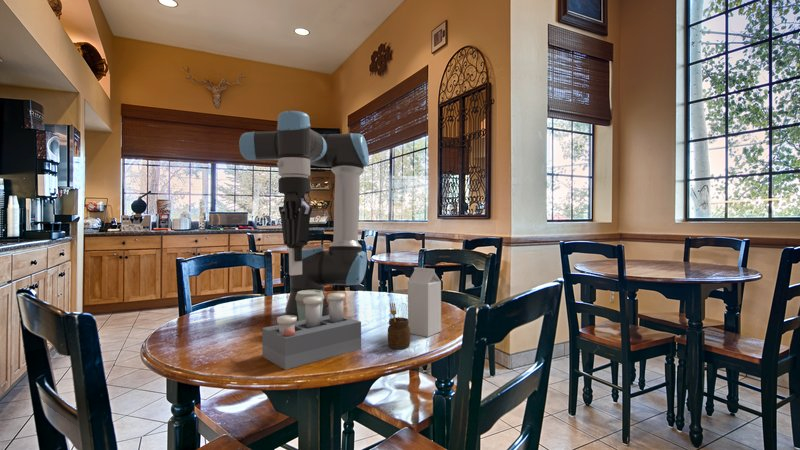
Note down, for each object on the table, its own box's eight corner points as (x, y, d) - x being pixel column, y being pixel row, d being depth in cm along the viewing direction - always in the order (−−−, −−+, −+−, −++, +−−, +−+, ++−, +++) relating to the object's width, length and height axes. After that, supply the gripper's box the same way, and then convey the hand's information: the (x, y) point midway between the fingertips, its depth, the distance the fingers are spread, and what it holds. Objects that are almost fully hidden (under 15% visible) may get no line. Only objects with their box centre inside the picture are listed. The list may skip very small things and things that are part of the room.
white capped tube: (273, 346, 96) (273, 317, 96) (291, 342, 99) (291, 314, 99) (282, 351, 93) (282, 320, 92) (300, 346, 96) (300, 317, 96)
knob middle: (300, 325, 101) (299, 298, 101) (316, 322, 104) (315, 295, 104) (309, 329, 97) (309, 300, 97) (325, 326, 100) (325, 298, 100)
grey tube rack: (262, 356, 98) (262, 323, 98) (335, 338, 112) (335, 309, 112) (285, 369, 89) (285, 333, 89) (361, 348, 103) (361, 317, 103)
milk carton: (428, 337, 113) (427, 270, 113) (407, 333, 117) (407, 268, 117) (441, 331, 118) (441, 267, 118) (421, 328, 123) (421, 266, 122)
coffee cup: (318, 336, 114) (317, 294, 114) (290, 335, 116) (289, 294, 116) (329, 328, 122) (328, 289, 122) (303, 327, 124) (302, 288, 124)
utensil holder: (414, 344, 107) (414, 299, 106) (402, 351, 101) (402, 304, 101) (395, 341, 110) (395, 297, 109) (382, 347, 104) (382, 301, 104)
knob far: (324, 321, 105) (324, 294, 105) (338, 318, 108) (338, 292, 108) (333, 324, 102) (333, 296, 102) (348, 321, 105) (348, 294, 105)
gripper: (268, 178, 99) (269, 273, 100) (292, 174, 90) (294, 279, 90) (296, 180, 104) (297, 270, 105) (322, 176, 95) (323, 275, 95)
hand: (295, 274), depth 97 cm, fingers closed
